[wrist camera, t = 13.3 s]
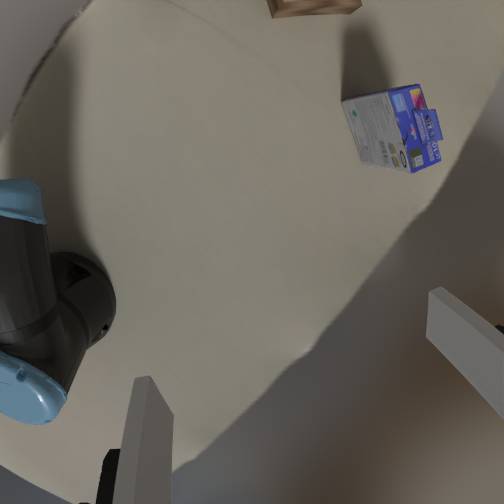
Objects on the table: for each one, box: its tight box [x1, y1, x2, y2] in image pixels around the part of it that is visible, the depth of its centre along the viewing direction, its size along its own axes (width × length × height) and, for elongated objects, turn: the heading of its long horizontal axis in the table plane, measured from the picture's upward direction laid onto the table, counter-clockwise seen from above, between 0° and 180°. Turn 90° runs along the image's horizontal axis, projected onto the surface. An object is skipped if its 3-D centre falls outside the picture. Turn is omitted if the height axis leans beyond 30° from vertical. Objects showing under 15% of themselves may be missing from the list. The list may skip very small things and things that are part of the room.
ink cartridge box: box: [342, 84, 443, 173], centre depth 35 cm, size 10×6×14 cm, turn 22°
